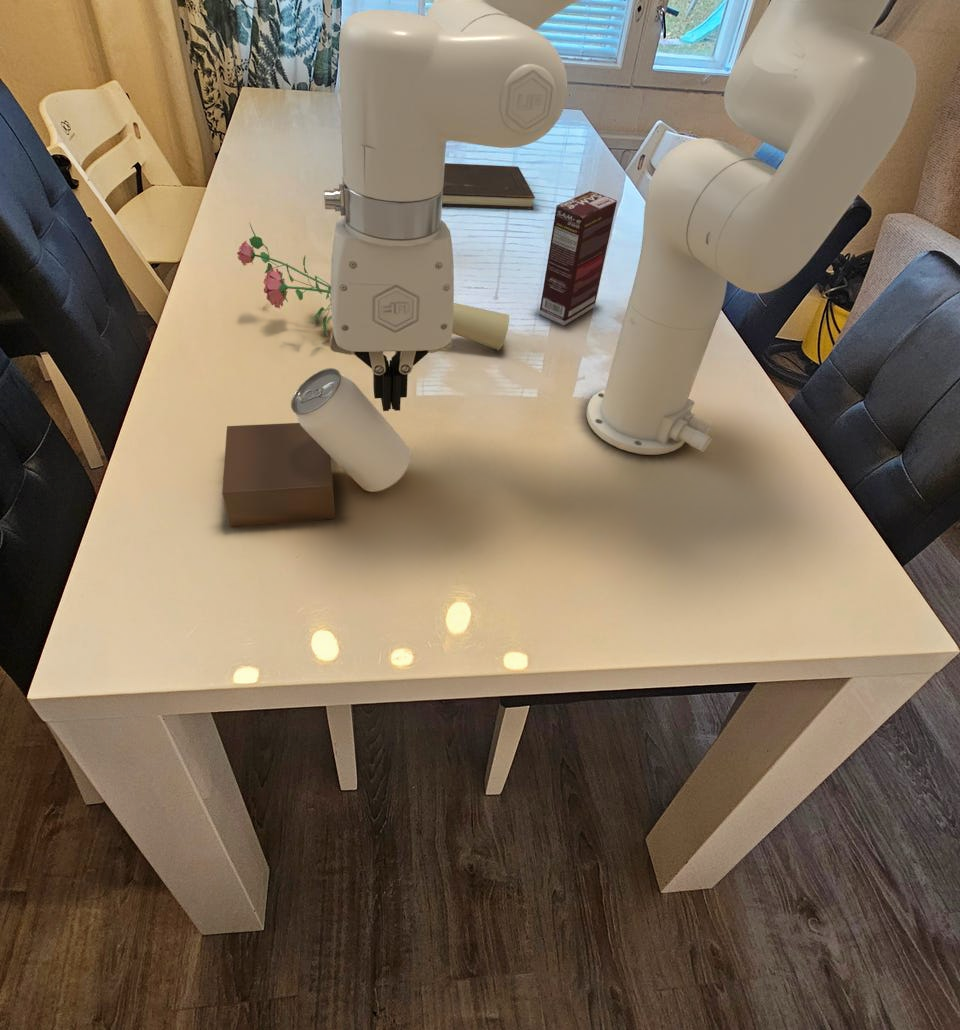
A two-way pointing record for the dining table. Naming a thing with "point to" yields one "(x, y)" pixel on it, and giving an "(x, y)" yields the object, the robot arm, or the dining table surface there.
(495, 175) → the hardcover book
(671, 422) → the robot arm
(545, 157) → the dining table surface
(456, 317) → the flower vase
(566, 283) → the supplement box
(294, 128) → the dining table surface
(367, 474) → the can
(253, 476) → the walnut block
